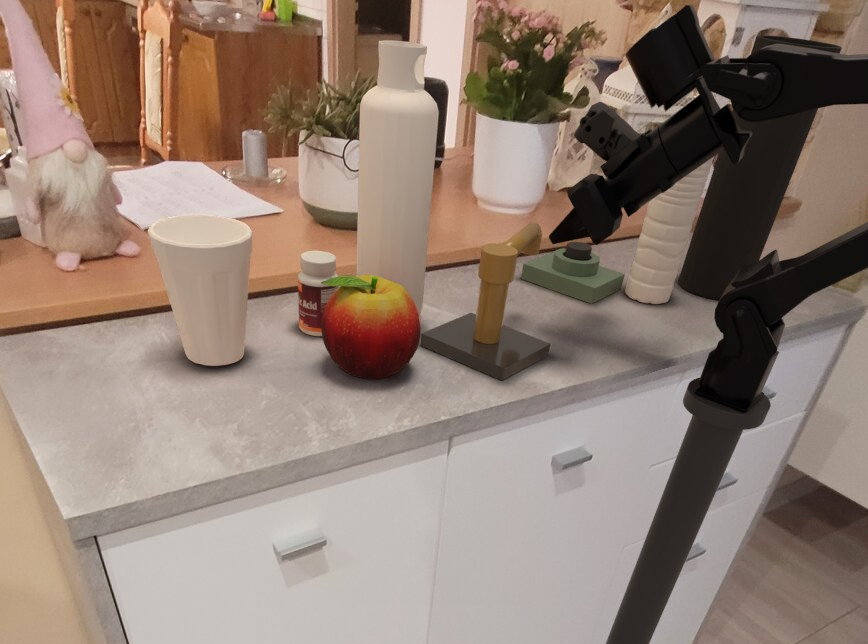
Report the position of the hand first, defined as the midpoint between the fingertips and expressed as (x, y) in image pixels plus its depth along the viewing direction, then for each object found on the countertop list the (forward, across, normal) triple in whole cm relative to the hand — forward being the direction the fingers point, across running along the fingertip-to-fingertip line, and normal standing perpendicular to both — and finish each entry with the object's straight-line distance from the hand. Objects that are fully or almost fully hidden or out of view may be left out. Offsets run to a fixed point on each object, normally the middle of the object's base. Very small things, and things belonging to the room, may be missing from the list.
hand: (551, 239), depth 86 cm
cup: (+26, +31, -11) cm, 42 cm away
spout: (+4, +5, 0) cm, 6 cm away
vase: (-5, -32, +20) cm, 38 cm away
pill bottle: (+23, +18, -8) cm, 30 cm away
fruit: (+16, +23, 0) cm, 28 cm away
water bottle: (0, -21, +15) cm, 26 cm away
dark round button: (+5, -18, +4) cm, 20 cm away
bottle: (+18, +12, -3) cm, 22 cm away
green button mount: (+8, -18, +7) cm, 21 cm away
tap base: (+9, +11, +6) cm, 15 cm away
